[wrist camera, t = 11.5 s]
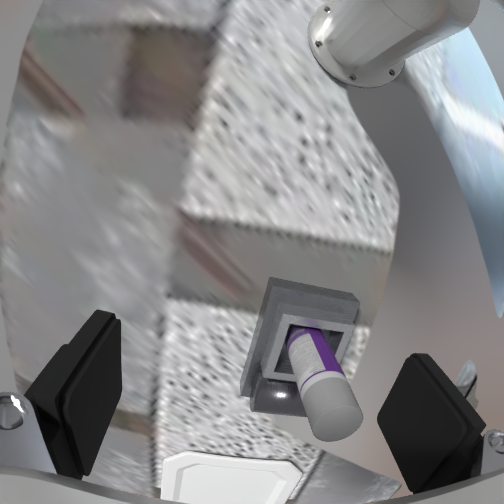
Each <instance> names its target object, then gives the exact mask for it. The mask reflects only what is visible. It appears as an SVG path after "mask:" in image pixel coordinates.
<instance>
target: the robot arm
mask: <svg viewBox="0 0 504 504" xmlns="http://www.w3.org/2000/svg"><path fill="white" fill-rule="evenodd" d="M491 1H492V2H493V3H494V4H495V5H496V6H497V7H499V8H500V9H501V10H502V11H503V12H504V0H491ZM479 4H480V0H331V1H329V2H327V3H325V4H323V5H322V6H321V7H319V8H318V9H317V10H316V12H315V13H314V15H313V16H312V18H311V20H310V23H309V27H308V39H309V44H310V47H311V50H312V52H313V54H314V56H315V57H316V59H317V60H318V62H319V63H320V64H321V65H322V67H323V68H324V69H325V70H326V71H327V72H329V73H330V74H331V75H332V76H333V77H335V78H337V79H338V80H340V81H342V82H344V83H346V84H349V85H351V86H355V87H360V88H375V87H379V86H382V85H385V84H387V83H389V82H391V81H392V80H393V79H395V78H396V77H397V76H398V74H399V73H400V71H401V70H402V67H403V65H404V60H405V59H407V58H408V57H410V56H412V55H414V54H416V53H418V52H420V51H422V50H424V49H426V48H428V47H430V46H432V45H434V44H436V43H438V42H440V41H442V40H444V39H446V38H448V37H450V36H452V35H454V34H456V33H458V32H460V31H462V30H464V29H465V28H467V27H468V26H469V25H470V24H471V23H472V21H473V20H474V18H475V17H476V15H477V12H478V8H479ZM316 45H318V46H319V47H316ZM389 73H390V74H389ZM350 77H351V78H352V80H351V79H350ZM121 393H122V370H121V321H120V319H116V316H115V314H114V313H110V312H106V311H102V310H96V311H95V312H94V313H93V314H92V315H91V317H90V318H89V319H88V320H87V322H86V323H85V324H84V325H83V326H82V328H81V329H80V330H79V331H78V333H77V334H76V335H75V336H74V338H73V339H72V340H71V341H70V343H69V344H64V345H63V346H61V347H60V349H59V350H58V351H57V352H56V354H55V355H54V356H53V357H52V359H51V360H50V361H49V363H48V364H47V365H46V366H45V368H44V369H43V370H42V372H41V373H40V374H39V376H38V377H37V378H36V380H35V381H34V382H33V383H32V385H31V386H30V388H29V389H28V390H27V392H26V393H25V394H24V396H22V395H20V394H18V393H14V392H0V504H188V503H181V502H175V501H169V500H163V499H157V498H152V497H147V496H142V495H137V494H132V493H128V492H124V491H120V490H116V489H112V488H108V487H105V486H100V485H96V484H92V483H89V482H85V481H81V480H82V477H83V475H85V476H89V474H90V472H91V470H92V467H93V465H94V462H95V459H96V457H97V454H98V451H99V449H100V446H101V444H102V441H103V439H104V436H105V434H106V431H107V429H108V426H109V424H110V421H111V419H112V416H113V414H114V411H115V409H116V406H117V404H118V402H119V399H120V397H121ZM377 422H378V425H379V427H380V429H381V431H382V433H383V435H384V437H385V439H386V442H387V443H388V445H389V448H390V450H391V452H392V454H393V456H394V459H395V460H396V463H397V465H398V467H399V469H400V471H401V474H402V476H403V478H404V480H405V482H406V485H407V487H408V489H409V490H410V491H411V492H413V495H409V496H405V497H400V498H394V499H389V500H384V501H378V502H372V503H365V504H504V432H502V431H500V430H496V429H493V430H489V431H487V432H486V433H485V434H484V436H483V437H482V436H481V434H480V433H481V432H482V431H483V429H484V428H485V427H486V424H485V422H484V421H483V420H482V419H481V417H480V416H479V415H478V413H477V412H476V411H475V410H474V408H473V407H472V406H471V405H470V403H469V402H468V401H467V400H466V398H465V397H464V396H463V395H462V394H461V392H460V391H459V390H458V389H457V387H456V386H455V385H454V384H453V383H452V381H451V380H450V379H449V378H448V377H447V375H446V374H445V373H444V372H443V371H442V370H441V368H440V367H439V366H438V365H437V364H436V362H435V361H434V360H433V359H432V358H431V357H430V356H429V355H428V354H420V353H414V354H412V355H410V357H408V358H407V359H406V360H405V362H404V364H403V367H402V369H401V371H400V373H399V375H398V377H397V379H396V381H395V383H394V385H393V387H392V389H391V391H390V393H389V395H388V397H387V399H386V400H385V402H384V404H383V406H382V408H381V410H380V411H379V413H378V416H377Z"/></svg>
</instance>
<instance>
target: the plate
mask: <svg viewBox="0 0 504 504" xmlns="http://www.w3.org/2000/svg"><path fill="white" fill-rule="evenodd" d="M301 477H302V472H301V471H300V470H299V469H298V468H296V467H295V466H294V465H293V464H292V463H291V462H289V461H276V460H260V459H248V458H238V457H229V456H220V455H213V454H206V453H199V452H193V451H185V452H182V453H179V454H176V455H173V456H170V457H167V458H165V459H164V460H163V471H162V484H161V499H163V500H169V501H175V502H181V503H188V504H285V502H286V501H287V499H288V498H289V496H290V495H291V493H292V492H293V490H294V488H295V487H296V485H297V484H298V482H299V480H300V479H301Z"/></svg>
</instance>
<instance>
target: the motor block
mask: <svg viewBox="0 0 504 504" xmlns="http://www.w3.org/2000/svg"><path fill="white" fill-rule="evenodd" d="M359 305H360V302H359V301H358V300H357V298H356V297H355V296H354V295H353V294H352V293H347V292H342V291H337V290H332V289H327V288H322V287H317V286H312V285H307V284H302V283H297V282H292V281H287V280H282V279H277V278H273V277H270V278H269V281H268V285H267V289H266V292H265V296H264V300H263V303H262V307H261V310H260V314H259V318H258V321H257V325H256V328H255V332H254V335H253V339H252V342H251V346H250V349H249V353H248V356H247V360H246V363H245V367H244V370H243V374H242V377H241V381H240V393H241V396H245V397H250V409H251V411H252V412H259V413H268V414H278V415H289V416H301V417H307V414H306V411H305V408H304V405H303V402H302V399H301V396H300V393H299V390H298V386H297V383H296V379H295V376H294V372H293V369H292V366H291V362H290V359H289V355H288V352H287V348H286V345H285V337H286V334H287V332H288V331H289V330H290V329H291V328H292V327H293V326H294V325H301V326H307V327H313V328H320V329H321V331H322V332H323V334H324V336H325V338H326V340H327V342H328V344H329V346H330V348H331V350H332V351H333V353H334V355H335V357H336V359H337V361H338V363H339V364H340V361H341V359H342V357H343V354H344V352H345V349H346V347H347V344H348V342H349V340H350V337H351V335H352V332H353V329H354V327H355V325H354V324H353V321H354V319H355V316H356V313H357V311H358V308H359Z"/></svg>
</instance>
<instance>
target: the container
mask: <svg viewBox="0 0 504 504" xmlns="http://www.w3.org/2000/svg"><path fill="white" fill-rule="evenodd" d="M285 345H286V348H287V352H288V355H289V359H290V362H291V366H292V369H293V372H294V376H295V379H296V383H297V386H298V390H299V393H300V396H301V399H302V402H303V405H304V408H305V411H306V414H307V417H308V420H309V423H310V426H311V429H312V432H313V435H314V436H315V437H316V438H317V439H319V440H322V441H327V442H330V441H337V440H341V439H344V438H346V437H348V436H349V435H351V434H353V433H354V432H355V431H356V430H357V429H358V428H359V427H360V425H361V423H362V420H363V414H362V411H361V409H360V407H359V405H358V403H357V400H356V398H355V396H354V394H353V392H352V389H351V387H350V385H349V383H348V381H347V378H346V377H345V375H344V373H343V371H342V369H341V367H340V365H339V363H338V361H337V359H336V357H335V355H334V353H333V351H332V350H331V348H330V346H329V344H328V342H327V340H326V338H325V336H324V334H323V332H322V331H321V329H320V328H313V327H307V326H301V325H294V326H293V327H292V328H291V329H290V330H289V331H288V332H287V334H286V337H285Z"/></svg>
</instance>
